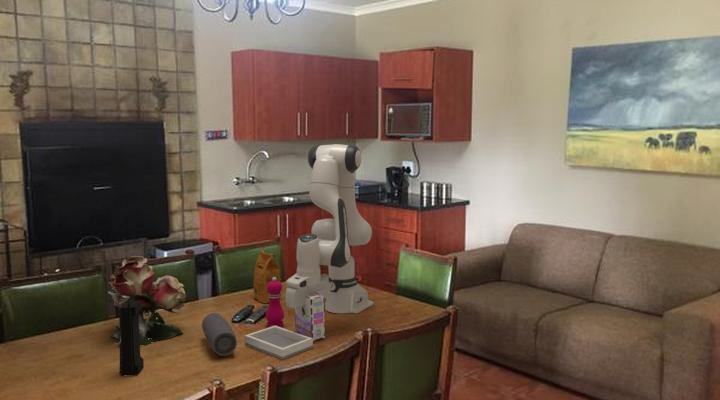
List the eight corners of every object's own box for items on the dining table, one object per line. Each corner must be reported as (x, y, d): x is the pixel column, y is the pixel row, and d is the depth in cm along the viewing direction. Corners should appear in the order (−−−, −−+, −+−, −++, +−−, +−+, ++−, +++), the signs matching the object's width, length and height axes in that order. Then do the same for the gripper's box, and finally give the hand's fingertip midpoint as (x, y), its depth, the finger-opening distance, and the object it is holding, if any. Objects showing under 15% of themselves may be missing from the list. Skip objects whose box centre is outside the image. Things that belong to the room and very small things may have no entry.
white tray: (275, 334, 232) (275, 325, 232) (312, 347, 219) (312, 338, 219) (244, 344, 222) (244, 335, 221) (282, 359, 208) (282, 349, 208)
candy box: (325, 338, 228) (324, 295, 225) (311, 341, 225) (310, 298, 222) (307, 327, 239) (306, 286, 237) (294, 330, 236) (293, 289, 234)
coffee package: (270, 294, 284) (269, 248, 281) (283, 301, 274) (282, 253, 271) (250, 298, 279) (249, 250, 276) (263, 305, 269) (262, 255, 266)
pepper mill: (280, 330, 237) (280, 279, 234) (263, 328, 238) (262, 278, 236) (286, 324, 244) (286, 275, 241) (269, 322, 245) (268, 274, 243)
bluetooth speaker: (200, 339, 228) (199, 313, 226) (225, 335, 231) (225, 309, 230) (211, 361, 207) (210, 332, 206) (238, 357, 211) (238, 329, 209)
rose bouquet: (196, 331, 236) (194, 254, 232) (123, 352, 214) (119, 268, 210) (161, 316, 253) (158, 245, 249) (91, 334, 232) (86, 256, 227)
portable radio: (126, 366, 202) (122, 292, 199) (144, 365, 203) (141, 292, 199) (118, 376, 194) (114, 300, 191) (138, 375, 195) (134, 299, 192)
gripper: (322, 271, 238) (322, 305, 240) (282, 282, 223) (283, 318, 225) (334, 274, 234) (334, 308, 236) (294, 285, 219) (294, 322, 221)
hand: (309, 313), depth 231 cm, fingers closed on candy box, 6 cm apart
